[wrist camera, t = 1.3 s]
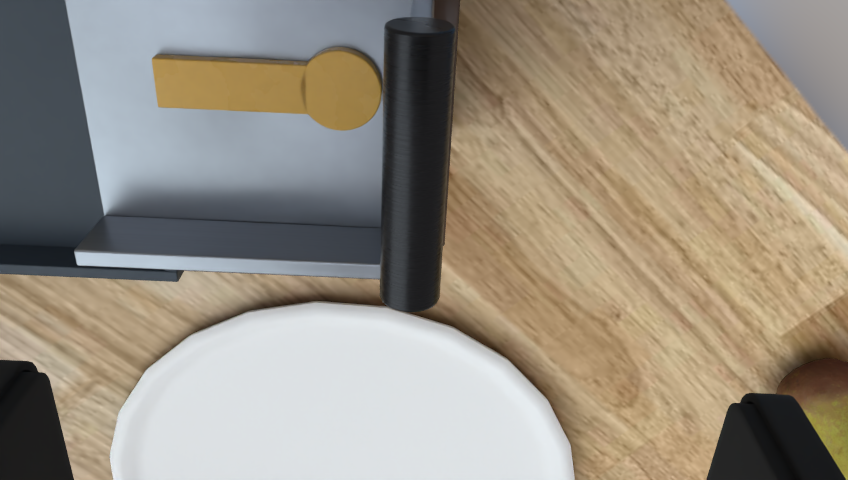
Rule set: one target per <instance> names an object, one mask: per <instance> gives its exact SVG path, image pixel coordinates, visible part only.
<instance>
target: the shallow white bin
mask: <svg viewBox="0 0 848 480" xmlns="http://www.w3.org/2000/svg"><path fill="white" fill-rule="evenodd" d="M65 5H66V11H67V16H68V22H69V27H70V32H71V38H72V43H73V49H74V54H75V60H76V65H77V71H78V76H79V82H80V87H81V93H82V98H83V103H84V109H85V114H86V120H87V125H88V131H89V136H90V142H91V147H92V153H93V158H94V164H95V169H96V174H97V180H98V185H99V191H100V196H101V202H102V207H103V213H104V216H103V217H102V218H101V219H100V220H99V222H98V223H97V224H96V225H95V226H94V228H93V229H92V230H91V231H90V232H89V233H88V235H87V236H86V237H85V238H84V239H83V241H82V242H81V243H80V244H79V245H78V246H77V248H76V249H75V250H74V254H75V258H76V263H77V265H78V266H96V267H118V268H140V269H162V270H184V271H206V272H228V273H250V274H272V275H294V276H316V277H338V278H360V279H380V297H381V299H382V301H383V303H384V304H385V305H387V306H388V307H390V308H392V309H394V310H398V311H402V312H420V311H424V310H427V309H429V308H431V307H433V306H434V305H435V304H436V303H437V301H438V300H439V297H440V282H441V266H442V250H443V234H444V218H445V202H446V186H447V169H448V153H449V137H450V121H451V105H452V89H453V73H454V57H455V41H456V28H455V26H454V25H453V24H452V23H450V22H447V21H444V20H441V19H436V18H434V0H65ZM332 47H346V48H351V49H354V50H356V51H358V52H360V53H362V54H364V55H365V56H366V57H368V58H369V59H370V60H371V61H372V63H373V64H374V65H375V66H376V68H377V70H378V72H379V74H380V77H381V80H382V89H383V90H382V98H381V102H380V105H379V108H378V110H377V112H376V114H375V115H374V116H373V118H372V119H371V120H370V121H368V122H367V123H366V124H364V125H363V126H361V127H358V128H356V129H352V130H346V131H339V130H333V129H329V128H326V127H324V126H322V125H320V124H319V123H317V122H316V121H315V120H313V119H312V118H311V117H310V116H309V115H308V114H290V113H269V112H247V111H226V110H204V109H183V108H161V107H158V104H157V96H156V89H155V81H154V74H153V66H152V58H153V57H154V56H155V55H157V54H162V55H184V56H205V57H226V58H248V59H269V60H291V61H309V60H310V59H311V58H312V57H313V56H314V55H316V54H317V53H319V52H320V51H323V50H325V49H328V48H332Z"/></svg>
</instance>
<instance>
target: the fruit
mask: <svg viewBox="0 0 848 480" xmlns="http://www.w3.org/2000/svg"><path fill="white" fill-rule="evenodd" d="M776 394H782V395H790V396H792V397H794V398H795V399H796V401H797V402H798V403H799V405H800V406H801V408H802V410H803V411H804V413H805V414H806V416H807V418H808V419H809V421H810V422H811V424H812V426H813V427H814V429H815V430H816V432H817V434H818V435H819V437H820V438H821V440H822V442H823V443H824V445H825V446H826V448H827V450H828V451H829V453H830V454H831V456H832V458H833V459H834V461H835V462H836V464H837V466H838V467H839V469H840V470H841V472H842V474H843V475H844V477H845V478H846V480H848V362H844V361H842V360H838V359H828V358H826V359H820V360H816V361H812V362H809V363H807V364H804V365H802V366H800V367H798V368H797V369H795V370H793V371H792V372H791V373H789V374H788V375H787V376H786V377H785V378H784V379H783V380H782V381H781V383H780V384H779V387H778V389H777V393H776Z"/></svg>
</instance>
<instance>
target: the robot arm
mask: <svg viewBox="0 0 848 480" xmlns="http://www.w3.org/2000/svg"><path fill="white" fill-rule="evenodd" d="M0 480H74V478H73V474H72V470H71V466H70V462H69V458H68V454H67V450H66V445H65V441H64V437H63V433H62V429H61V425H60V421H59V417H58V413H57V409H56V405H55V400H54V396H53V392H52V388H51V384H50V380H49V378H48V376H47V375H46V374H45V373H40V372H38V371H37V368H36V366H35V365H34V364H33V363H32V362H29V361H11V360H0ZM707 480H846V478H845V477H844V475H843V474H842V472H841V470H840V469H839V467H838V466H837V464H836V462H835V461H834V459H833V458H832V456H831V454H830V453H829V451H828V450H827V448H826V446H825V445H824V443H823V442H822V440H821V438H820V437H819V435H818V434H817V432H816V430H815V429H814V427H813V426H812V424H811V422H810V421H809V419H808V418H807V416H806V414H805V413H804V411H803V410H802V408H801V406H800V405H799V403H798V402H797V401H796V399H795V398H794V397H792V396H790V395H782V394H759V393H748V394H746V395H745V396H744V397H743V398H742V400H741V402H740V403H733V404H731V405H730V406H729V408H728V411H727V414H726V417H725V420H724V424H723V427H722V430H721V434H720V437H719V440H718V443H717V447H716V450H715V453H714V457H713V460H712V463H711V466H710V470H709V473H708V476H707Z"/></svg>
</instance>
